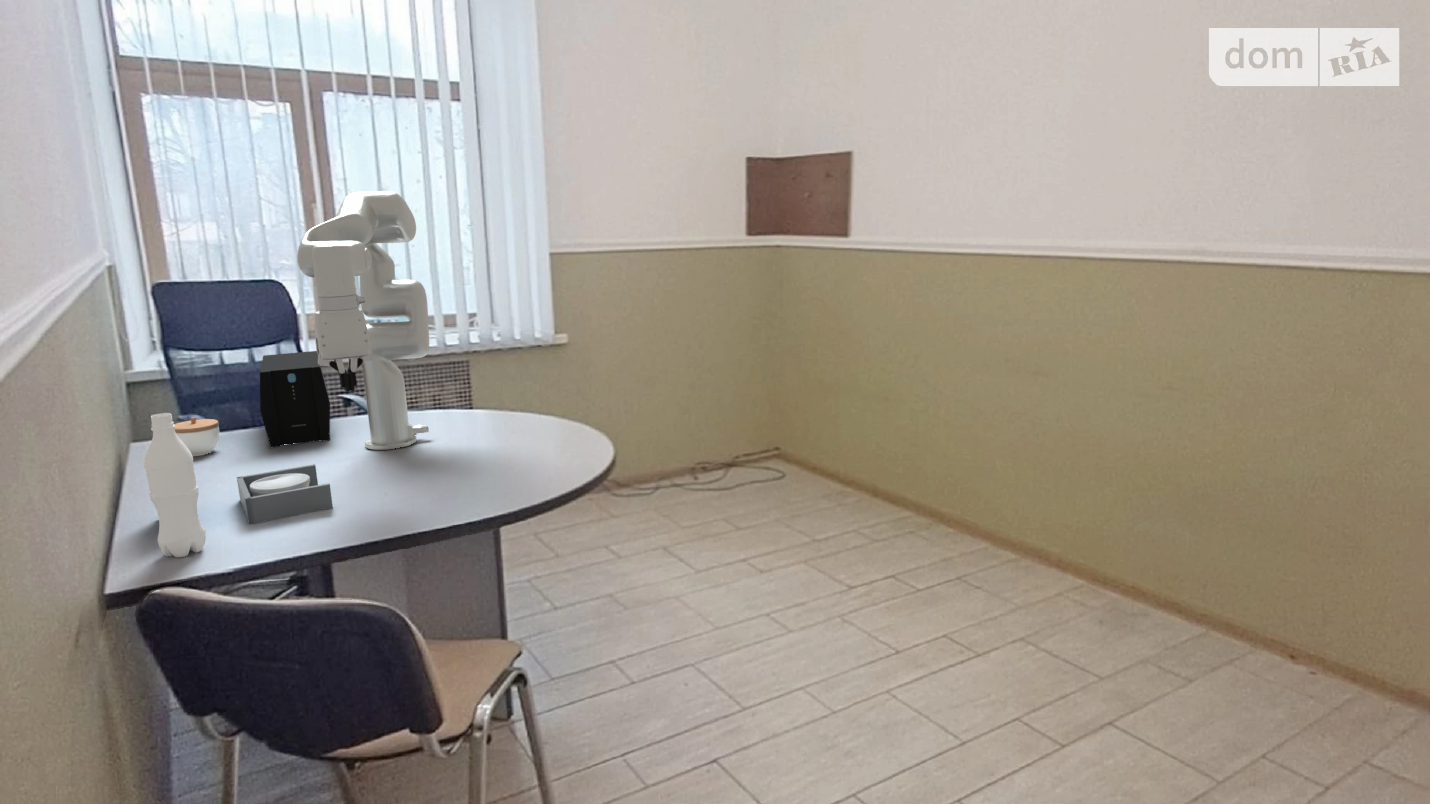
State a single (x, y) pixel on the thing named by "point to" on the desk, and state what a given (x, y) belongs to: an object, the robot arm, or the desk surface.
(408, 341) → the robot arm
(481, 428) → the desk surface
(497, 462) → the desk surface
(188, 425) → the lidded jar
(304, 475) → the ramekin
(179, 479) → the water bottle
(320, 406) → the uninterruptible power supply
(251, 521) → the box
